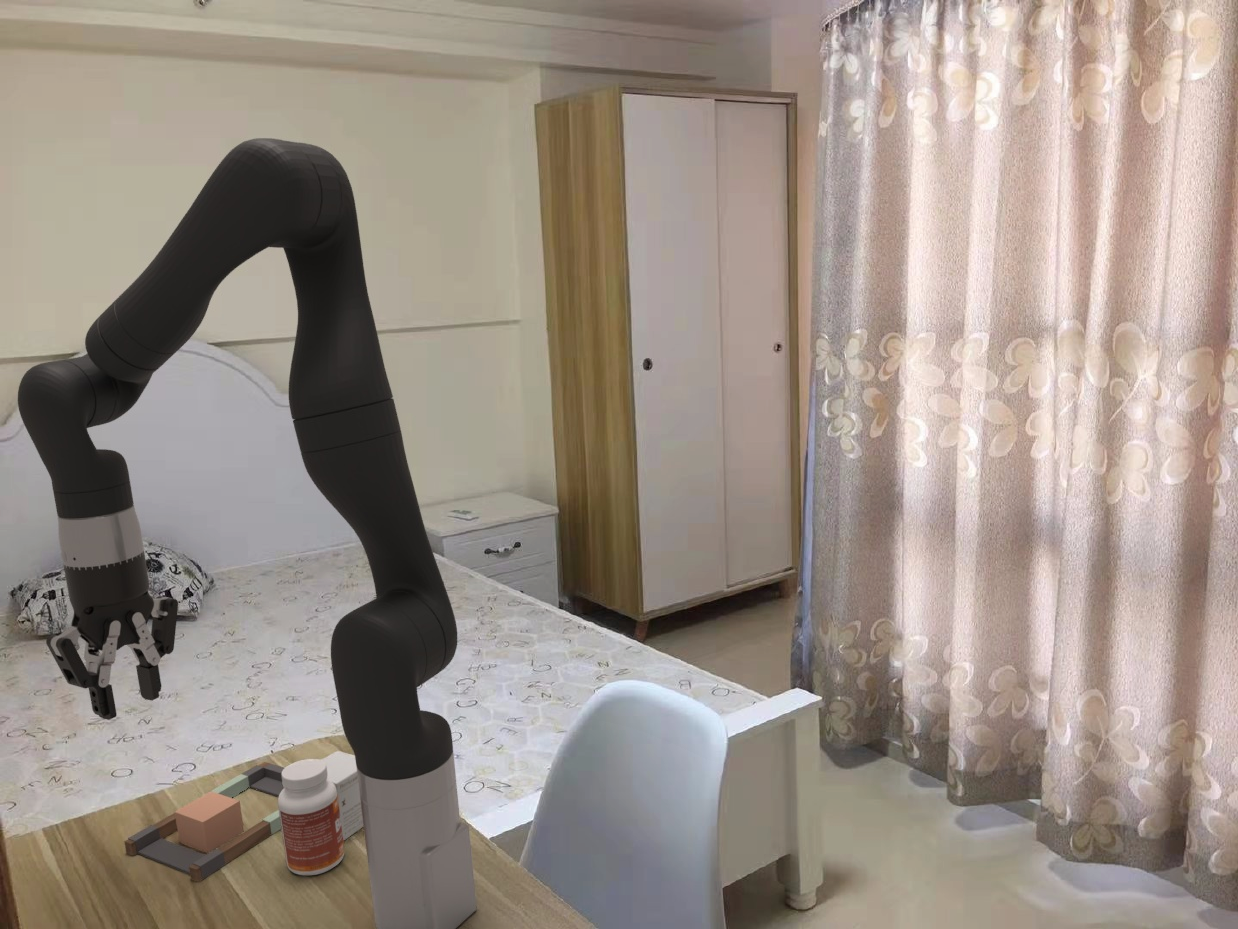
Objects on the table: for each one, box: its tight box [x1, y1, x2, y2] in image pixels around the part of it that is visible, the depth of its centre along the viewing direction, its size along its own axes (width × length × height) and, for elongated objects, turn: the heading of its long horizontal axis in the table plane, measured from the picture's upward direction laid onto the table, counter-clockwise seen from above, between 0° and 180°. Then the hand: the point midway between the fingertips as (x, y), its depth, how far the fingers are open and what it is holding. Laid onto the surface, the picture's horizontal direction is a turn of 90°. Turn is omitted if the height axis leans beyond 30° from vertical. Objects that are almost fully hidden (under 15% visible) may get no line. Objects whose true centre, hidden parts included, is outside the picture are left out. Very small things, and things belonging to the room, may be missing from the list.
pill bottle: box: [277, 758, 345, 876], centre depth 114 cm, size 6×6×11 cm
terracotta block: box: [174, 790, 245, 854], centre depth 121 cm, size 5×5×4 cm
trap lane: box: [124, 761, 285, 883], centre depth 124 cm, size 12×20×2 cm, turn 149°
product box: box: [320, 750, 364, 841], centre depth 122 cm, size 6×6×7 cm
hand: (129, 706), depth 111 cm, fingers open, 4 cm apart
